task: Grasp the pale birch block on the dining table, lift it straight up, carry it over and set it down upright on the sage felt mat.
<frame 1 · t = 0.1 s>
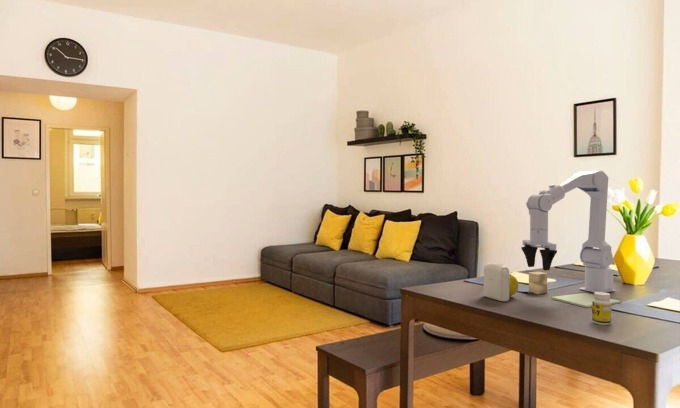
hand: (538, 268, 171), 10 cm above the table, fingers open, 7 cm apart
photo printer: (496, 299, 170), on the table
birch block: (537, 292, 180), on the table
lemon: (509, 297, 172), on the table
felt mat: (585, 300, 166), on the table
supplement bottle: (601, 323, 139), on the table
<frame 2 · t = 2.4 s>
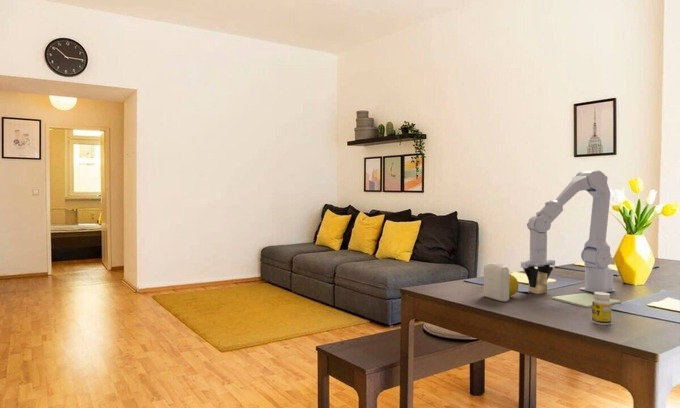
hand: (537, 286, 180), 2 cm above the table, fingers closed on birch block, 4 cm apart
birch block: (537, 292, 180), on the table, touching gripper
everything else where it was.
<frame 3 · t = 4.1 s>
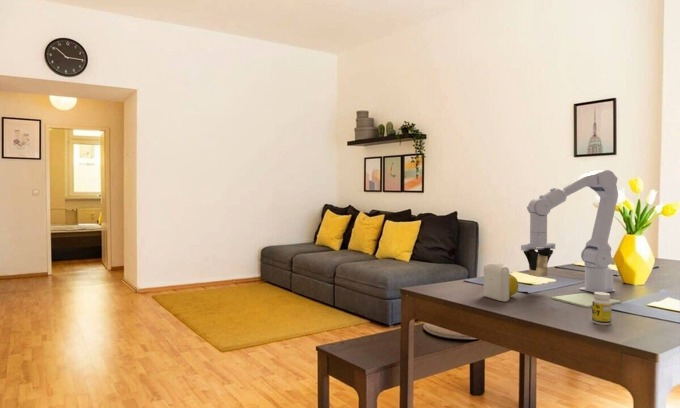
hand: (538, 269, 180), 8 cm above the table, fingers closed on birch block, 4 cm apart
birch block: (538, 275, 180), point 6 cm above the table, touching gripper
everything else where it was.
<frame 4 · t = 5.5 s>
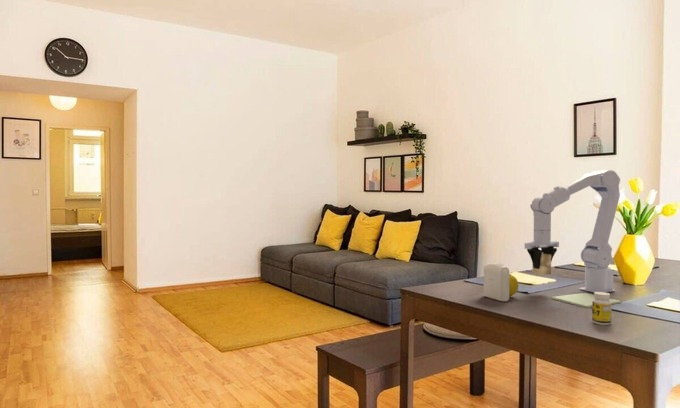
hand: (541, 267, 179), 9 cm above the table, fingers closed on birch block, 4 cm apart
birch block: (541, 273, 179), point 7 cm above the table, touching gripper
everything else where it was.
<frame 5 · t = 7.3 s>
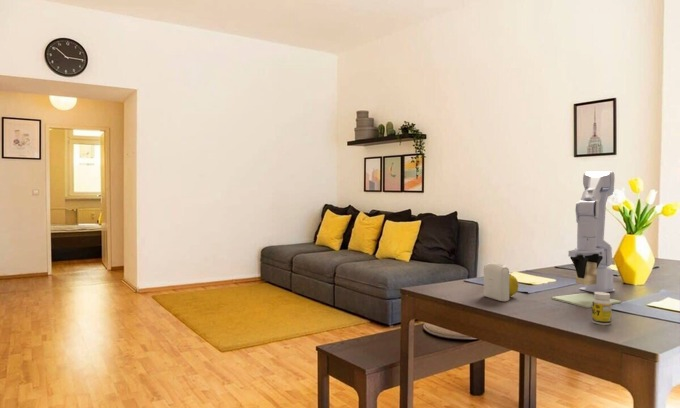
hand: (586, 277, 166), 8 cm above the table, fingers closed on birch block, 4 cm apart
birch block: (586, 283, 166), point 6 cm above the table, touching gripper
everything else where it was.
when the fingers open (4 cm above the table, at t = 8.9 s): birch block drops 1 cm, resting on felt mat.
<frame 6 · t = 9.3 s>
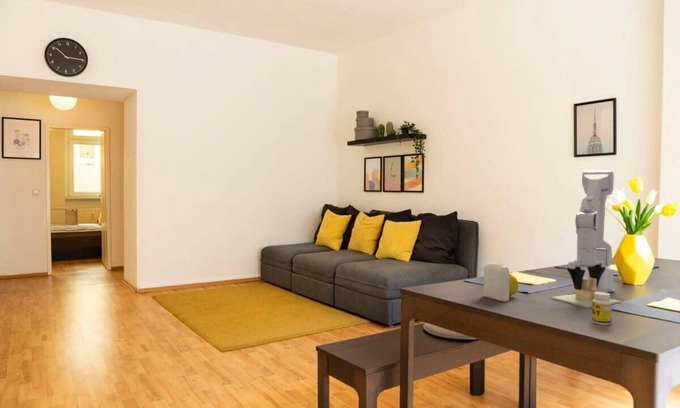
hand: (585, 288, 166), 4 cm above the table, fingers open, 7 cm apart
birch block: (585, 298, 166), point 1 cm above the table, touching felt mat
everything else where it was.
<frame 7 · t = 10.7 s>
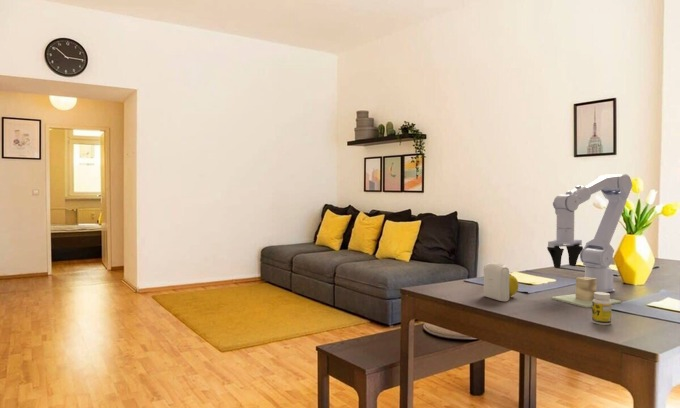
hand: (564, 266, 176), 10 cm above the table, fingers open, 7 cm apart
nothing on the table moved.
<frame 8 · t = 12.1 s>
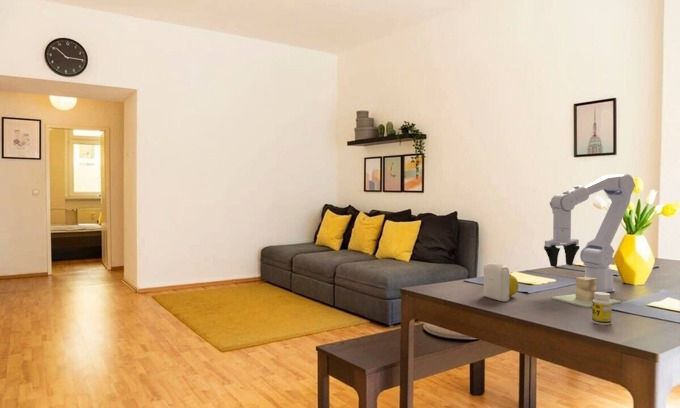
hand: (561, 265, 178), 10 cm above the table, fingers open, 7 cm apart
nothing on the table moved.
at the end: birch block inside the target area on the felt mat (0.0 cm from its centre), point 0.6 cm above the felt mat's base; birch block tilted 0°; the gripper is holding nothing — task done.
